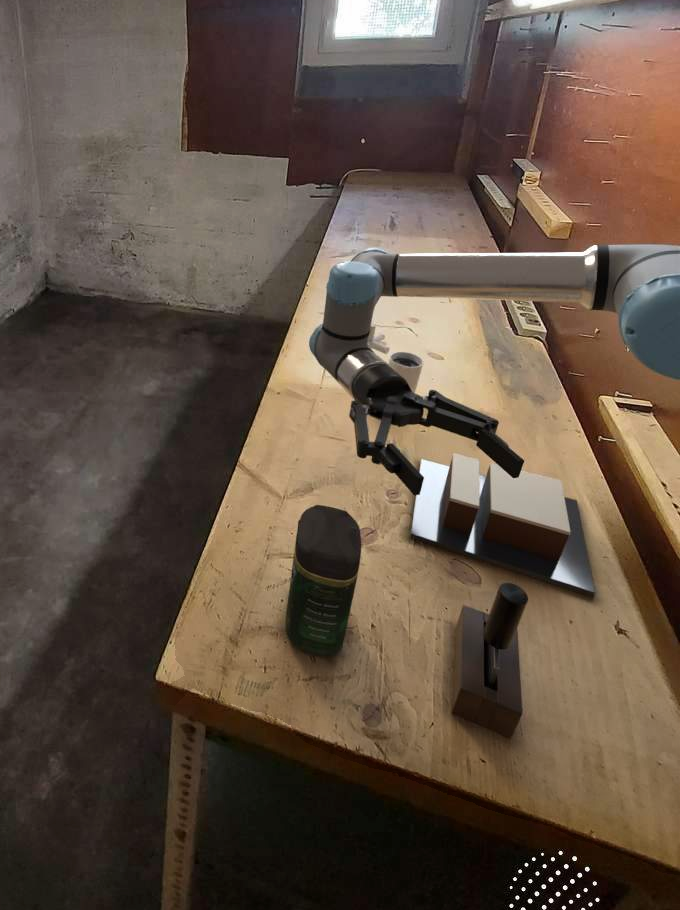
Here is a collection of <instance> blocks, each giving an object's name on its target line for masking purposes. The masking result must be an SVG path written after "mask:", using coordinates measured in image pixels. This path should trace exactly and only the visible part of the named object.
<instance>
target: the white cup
mask: <svg viewBox="0 0 680 910" xmlns="http://www.w3.org/2000/svg"><path fill="white" fill-rule="evenodd" d="M388 365H389V366H390V367H391V368H393V369H394V370H395V371H396V372H397V373H399V374H400V375H401V376H402V377H403V378H404V379H405V380H406V381H407V383H408V385H409V387H410V389H411V391H412V392H413V393H415V394H416V392H417V387H418V384H419V380H420V376H421V373H422V369H423V367H424V360H423V359H422V357H420V356H419V355H417V354H416V353H413V352H408V351H395V352H392V353H391V354H390V355H389V361H388Z"/></svg>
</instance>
